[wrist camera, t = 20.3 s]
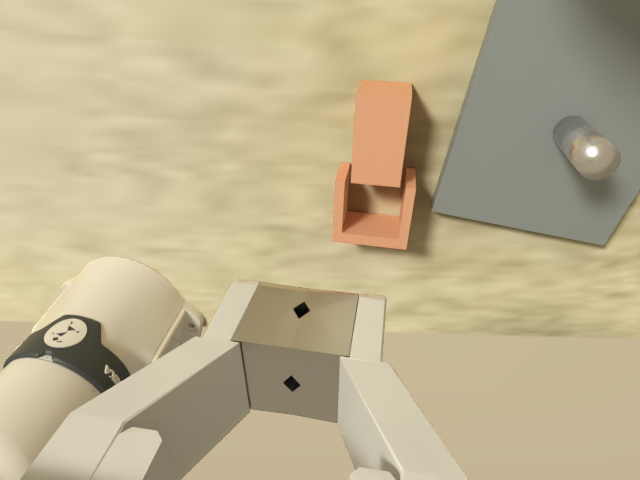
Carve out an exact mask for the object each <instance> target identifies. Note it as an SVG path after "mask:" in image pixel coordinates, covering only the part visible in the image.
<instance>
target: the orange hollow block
mask: <svg viewBox="0 0 640 480" xmlns="http://www.w3.org/2000/svg"><path fill="white" fill-rule="evenodd" d="M411 101H412V83H402V82H385V81H368V80H361V82H360V85H359V88H358V90H357V93H356V105H355V121H354V137H353V153H352V169H351V183H357V184H368V185H379V186H390V187H400V182H401V175H402V167H403V160H404V153H405V145H406V138H407V131H408V123H409V116H410V109H411ZM349 175H350V163H345V162H341V165H340V168H339V171H338V174H337V177H336V180H335V194H334V219H333V242H342V243H351V244H360V245H369V246H378V247H387V248H395V249H404V250H406V249H407V242H408V236H409V230H410V224H411V217H412V211H413V205H414V199H415V193H416V169H414V168H406V174H405V181H404V188H403V195H402V202H401V209H400V216H391V215H381V214H372V213H362V212H352V211H347V208H348V191H349Z"/></svg>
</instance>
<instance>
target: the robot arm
mask: <svg viewBox="0 0 640 480" xmlns="http://www.w3.org/2000/svg"><path fill="white" fill-rule="evenodd" d="M60 291H61V293H62V294H61V295H60V296H59V298H58V299H57V300H56V301H55V302H54V304H53V305H52V306H51V307H50V308H49V309H48V311H47V312H46V313H45V314H44V315H43V317H42V318H41V319H40V320H39V322H38V323H37V324H36V325H35V326H34V328H33V330H32V334H31V335H30V336H29V337H28V338H27V339H26V340H25V341H24V342H23V343H22V344H20V345H18V347H17V348H16V349H15V350H14V351H13V352H12V355H11V356H10V357H9V358H8V359H7V360H6V362H5V364H4V367H3V370H2V371H1V372H0V480H181V479H182V478H183V477H184V476H185V475H186V474H187V473H188V472H189V471H190V470H191V469H192V468H193V467H194V466H195V465H196V464H197V463H198V462H199V461H200V460H201V459H202V458H203V457H204V456H205V455H206V454H207V453H208V452H209V451H210V450H212V449H213V448H214V447H215V446H216V445H217V444H218V443H219V442H220V441H221V440H222V439H223V438H224V437H225V436H226V435H227V434H228V433H229V432H230V431H231V430H232V429H233V428H234V427H235V426H236V425H237V424H238V423H239V422H240V421H241V420H242V419H243V418H244V417H245V416H246V415H247V414H248V413H249V412H250V409H254V410H261V411H269V412H277V413H284V414H291V415H297V416H302V417H307V418H313V419H318V420H323V421H328V422H334V423H338V428H339V430H340V433H341V435H342V438H343V440H344V443H345V445H346V448H347V450H348V453H349V455H350V458H351V460H352V463H353V465H354V468H355V471H354V472H353V473H351V474H350V477H349V480H468V478H467V477H466V475H465V474H464V472H463V471H462V470H461V468H460V466H459V465H458V463H457V462H456V460H455V459H454V457H453V456H452V455H451V453H450V451H449V450H448V448H447V447H446V446H445V444H444V442H443V441H442V440H441V438H440V437H439V436H438V434H437V432H436V431H435V429H434V428H433V426H432V425H431V423H430V422H429V420H428V419H427V417H426V416H425V414H424V413H423V411H422V410H421V409H420V407H419V405H418V404H417V403H416V401H415V400H414V398H413V396H412V395H411V394H410V392H409V391H408V389H407V388H406V386H405V385H404V383H403V382H402V380H401V379H400V377H399V376H398V374H397V373H396V371H395V370H394V368H393V367H392V365H391V364H389V363H383V362H382V356H383V342H384V327H385V313H386V297H385V296H380V295H370V294H360V295H359V294H355V293H346V292H337V291H327V290H318V289H309V288H302V287H295V286H288V285H281V284H274V283H266V282H256V281H249V280H242V279H237V280H236V281H235V282H233V283H232V285H231V287H230V289H229V290H228V292H227V294H226V296H225V298H224V299H223V301H222V303H221V305H220V307H219V308H218V310H217V312H216V314H215V316H214V317H213V319H212V321H211V323H210V325H209V326H208V328H207V330H206V332H205V334H204V336H203V337H200V335H201V331H202V326H203V322H204V316H203V314H202V313H201V312H200V311H199V310H198V309H197V308H195V307H194V306H193V305H191V304H190V303H188V302H187V301H185V299H184V298H183V297H182V296H181V295H180V294H179V292H178V291H177V290H176V289H175V288H174V286H173V285H172V284H171V283H170V282H169V281H168V280H166V279H165V278H164V277H163V276H162V275H160V274H159V273H157V272H156V271H154V270H153V269H151V268H149V267H147V266H145V265H143V264H141V263H139V262H136V261H133V260H130V259H126V258H120V257H102V258H98V259H95V260H93V261H91V262H89V263H88V264H87V265H86V266H85V267H84V268H83V270H82V271H81V272H80V274H79V275H78V276H77V277H74V278H71V279H69V280H67V281H65V282H64V284H63V285H62V286H61V288H60Z"/></svg>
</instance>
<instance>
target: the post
mask: <svg viewBox="0 0 640 480" xmlns="http://www.w3.org/2000/svg"><path fill="white" fill-rule="evenodd" d="M552 135H553V139H554V141H555V142H556V144H557V145H558V146H559V148H560V149H561V150H562V151H563V153H564V154H565V155H566V156H567V158H568V159H569V160H570V161H571V163H572V164H573V165H574V167H575V168H576V169H577V170H578V172H579V173H580V174H581V175H582V176H583V177H584V178H586V179H589V180H600V179H603V178H606V177H608V176H610V175H611V174H612V173H614V172H615V171H616V170H617V168H618V167H619V165H620V162H621V154H620V152H619V150H618V149H617V148H616V147H614V146H613V145H612V144H611V143H610V142H609V141H608V140H607V139H606V138H605V137H604V136H602V135H601V134H600V133H599V132H598V131H597V130H596V129H595V128H594V127H593V126H592V125H591V124H589V123H588V122H587V121H586V120H585V119H584V118H583V117H580V116H576V115H573V116H568V117H565V118H563V119H562V120H560V121H559V122H558V123H557V124H556V126H555V127H554V129H553V134H552Z"/></svg>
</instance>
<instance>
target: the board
mask: <svg viewBox="0 0 640 480" xmlns="http://www.w3.org/2000/svg"><path fill="white" fill-rule="evenodd" d="M573 115H576V116H580V117H583V118H584V119H585V120H586V121H587V122H588V123H589V124H591V125H592V126H593V127H594V128H595V129H596V130H597V131H598V132H599V133H600V134H601V135H602V136H604V137H605V138H606V139H607V140H608V141H609V142H610V143H611V144H612V145H613V146H614V147H616V148H617V149H618V150H619V152H620V154H621V162H620V165H619V167H618V168H617V170H616V171H615V172H614V173H612V174H611V175H610V176H608V177H606V178H603V179H600V180H589V179H586V178H584V177H583V176H582V175H581V174H580V173H579V172H578V170H577V169H576V168H575V167H574V165H573V164H572V163H571V161H570V160H569V159H568V158H567V156H566V155H565V154H564V153H563V151H562V150H561V149H560V148H559V146H558V145H557V144H556V142H555V141H554V139H553V135H552V134H553V129H554V127H555V126H556V124H557V123H558V122H559V121H560V120H562V119H563V118H565V117H568V116H573ZM639 190H640V0H496V3H495V6H494V9H493V12H492V15H491V18H490V21H489V24H488V28H487V31H486V34H485V37H484V40H483V43H482V46H481V49H480V52H479V56H478V59H477V62H476V65H475V68H474V71H473V74H472V77H471V80H470V83H469V87H468V90H467V93H466V96H465V99H464V102H463V105H462V108H461V111H460V114H459V118H458V121H457V124H456V127H455V130H454V133H453V136H452V139H451V142H450V145H449V149H448V152H447V155H446V158H445V161H444V164H443V167H442V170H441V173H440V176H439V180H438V183H437V186H436V189H435V192H434V195H433V198H432V201H431V211H432V212H437V213H442V214H447V215H452V216H457V217H462V218H467V219H472V220H477V221H482V222H487V223H492V224H497V225H502V226H507V227H512V228H517V229H522V230H527V231H532V232H537V233H542V234H547V235H552V236H557V237H562V238H567V239H572V240H577V241H582V242H587V243H592V244H597V245H602V246H604V245H605V243H606V242H607V240H608V239H609V237H610V236H611V234H612V232H613V231H614V229H615V228H616V226H617V225H618V223H619V222H620V220H621V218H622V217H623V215H624V214H625V212H626V211H627V209H628V207H629V206H630V204H631V203H632V201H633V200H634V198H635V196H636V195H637V193H638V192H639Z"/></svg>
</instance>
